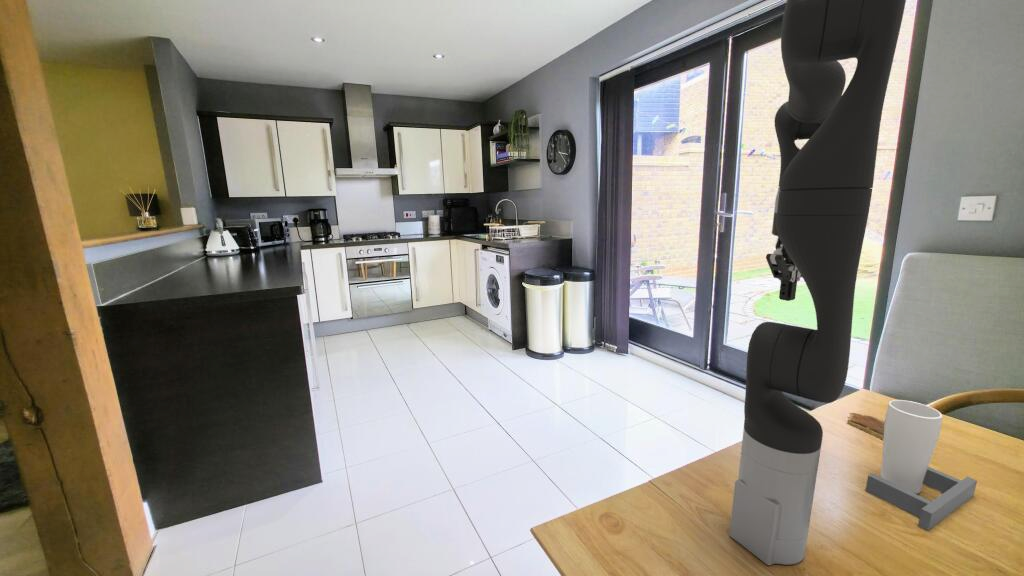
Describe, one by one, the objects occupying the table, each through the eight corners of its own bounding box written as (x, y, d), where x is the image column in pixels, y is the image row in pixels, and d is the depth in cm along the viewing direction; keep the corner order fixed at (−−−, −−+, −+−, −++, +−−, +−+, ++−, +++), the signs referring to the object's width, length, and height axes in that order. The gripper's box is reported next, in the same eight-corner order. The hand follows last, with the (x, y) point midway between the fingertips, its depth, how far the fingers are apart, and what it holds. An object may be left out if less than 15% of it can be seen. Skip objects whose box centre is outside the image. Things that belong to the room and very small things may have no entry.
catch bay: (928, 530, 62) (931, 513, 62) (858, 494, 70) (861, 479, 70) (973, 496, 70) (977, 480, 69) (905, 466, 78) (908, 452, 77)
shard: (899, 450, 84) (901, 442, 84) (852, 439, 88) (853, 432, 87) (885, 426, 93) (886, 418, 93) (843, 417, 97) (844, 410, 97)
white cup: (924, 484, 73) (941, 407, 70) (927, 505, 68) (945, 423, 65) (874, 469, 77) (887, 395, 74) (873, 487, 72) (888, 409, 69)
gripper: (797, 211, 71) (786, 307, 74) (839, 210, 77) (826, 299, 80) (756, 211, 78) (747, 299, 81) (797, 210, 83) (787, 293, 87)
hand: (786, 299), depth 81 cm, fingers closed
